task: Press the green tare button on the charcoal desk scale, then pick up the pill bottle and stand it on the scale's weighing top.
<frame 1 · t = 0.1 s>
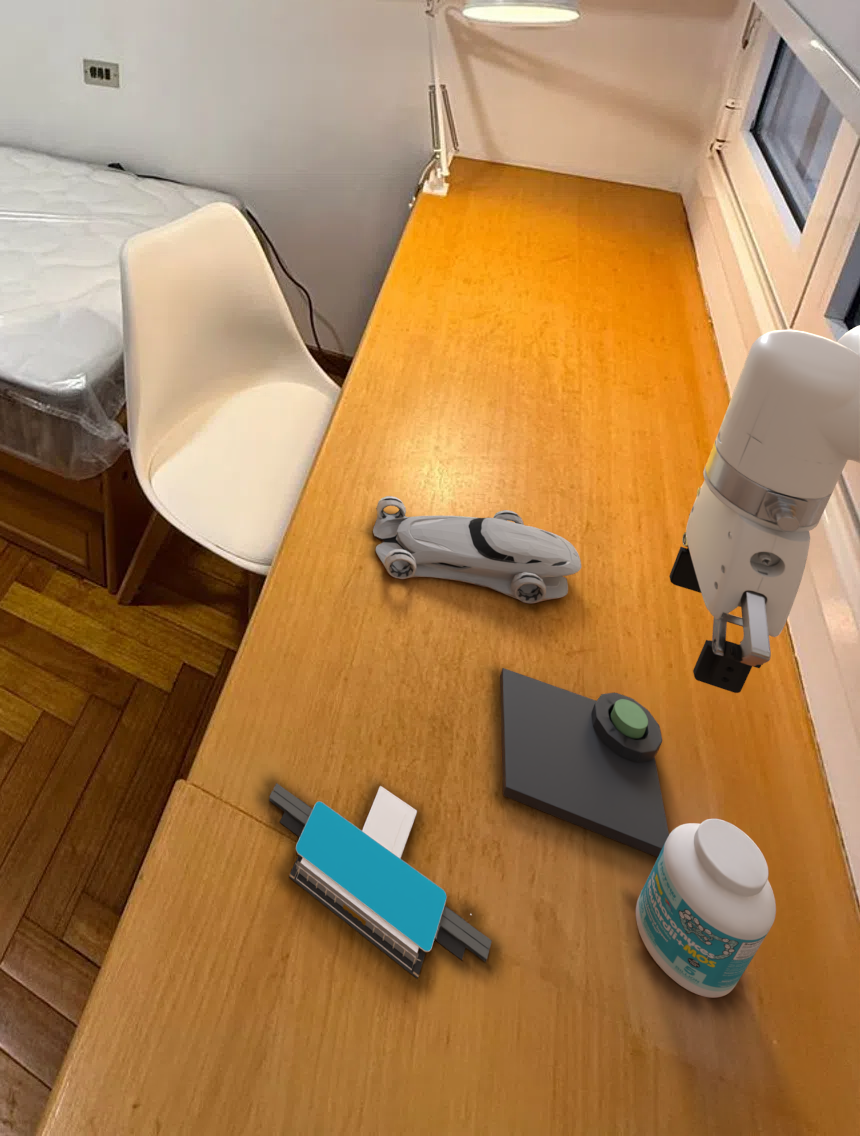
hand: (701, 632, 72), 24 cm above the table, tool pointing down, fingers open, 9 cm apart
tare button: (629, 718, 85), point 3 cm above the table, slide at 0.1 cm
scale: (576, 760, 85), on the table
pill bottle: (682, 946, 71), on the table
phone stand: (374, 862, 76), on the table
car model: (471, 559, 107), on the table
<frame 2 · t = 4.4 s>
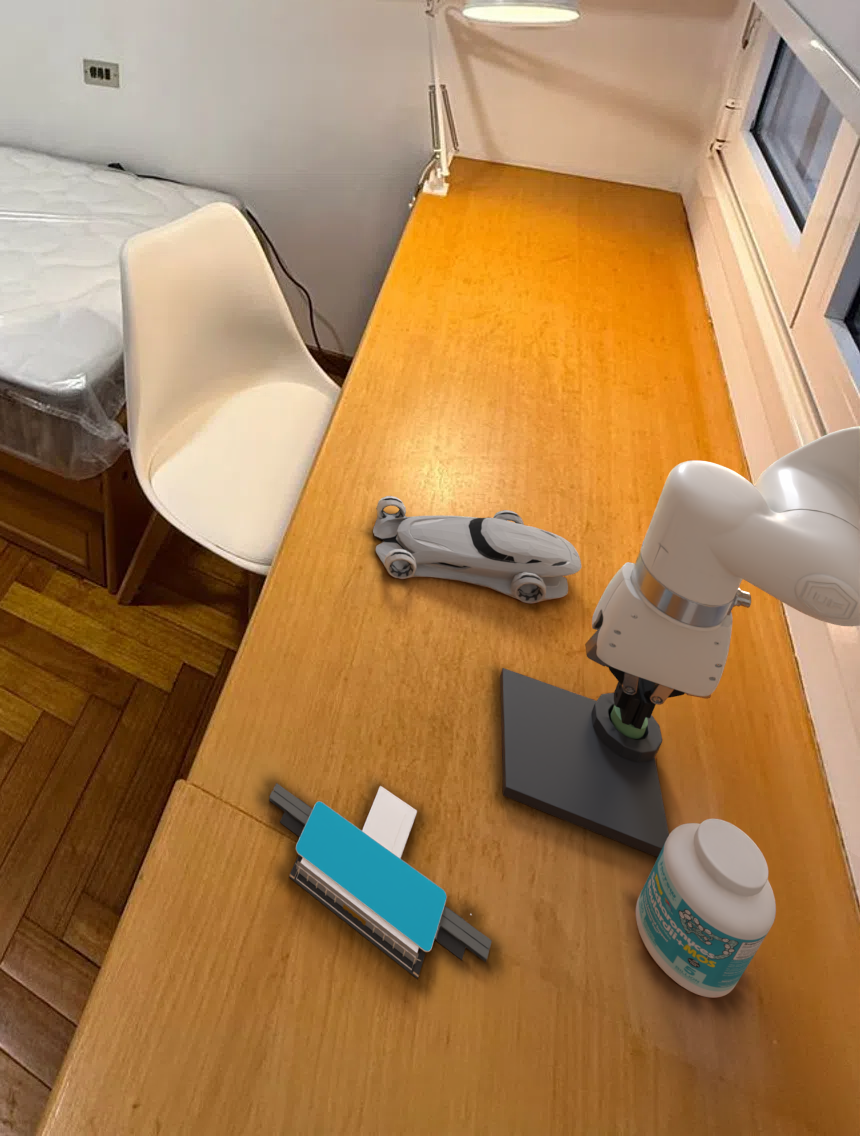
hand: (628, 712, 85), 4 cm above the table, tool pointing down, fingers closed
tare button: (629, 719, 85), point 3 cm above the table, slide at 0.1 cm, touching gripper
everything else where it was.
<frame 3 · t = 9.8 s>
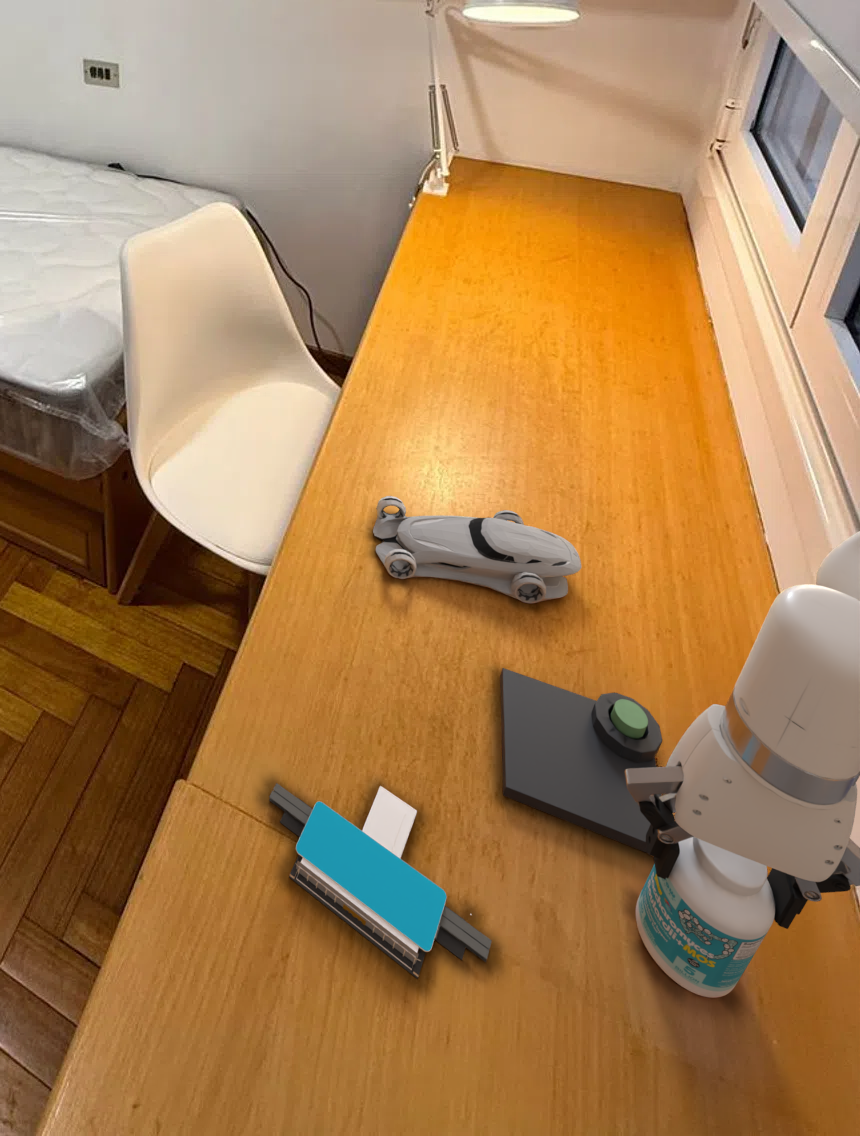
hand: (715, 881, 68), 9 cm above the table, tool pointing down, fingers closed on pill bottle, 7 cm apart
tare button: (629, 718, 85), point 3 cm above the table, slide at 0.1 cm
pill bottle: (682, 946, 71), on the table, touching gripper
everything else where it was.
when the fingers open (11 cm above the table, at t = 17.0 s): pill bottle stays where it is, resting on scale.
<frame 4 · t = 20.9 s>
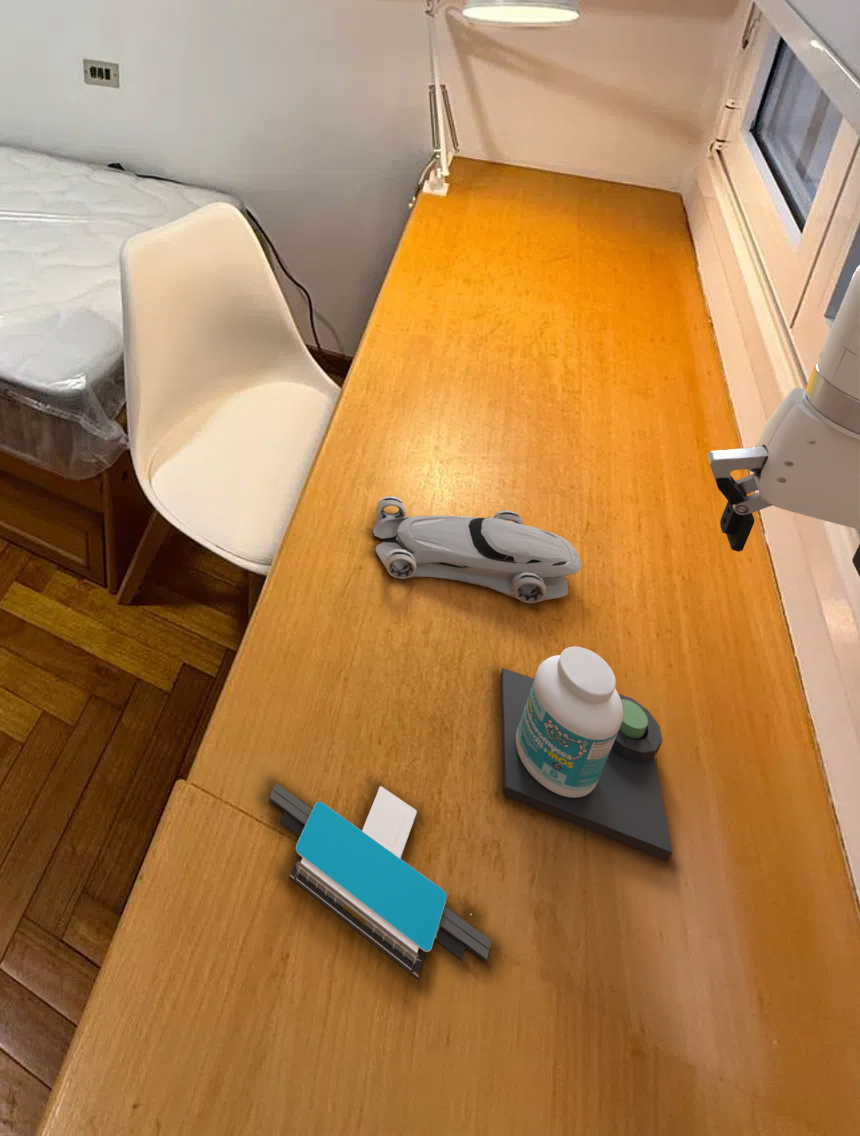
hand: (796, 557, 74), 28 cm above the table, tool pointing down, fingers open, 9 cm apart
pill bottle: (554, 762, 83), point 1 cm above the table, touching scale
everything else where it was.
at the end: tare button pushed in 0.9 cm at the most during the clip, back to where it started at the end; pill bottle inside the target area on the scale (3.1 cm from its centre), point 1.2 cm above the scale's base; pill bottle touching scale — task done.
